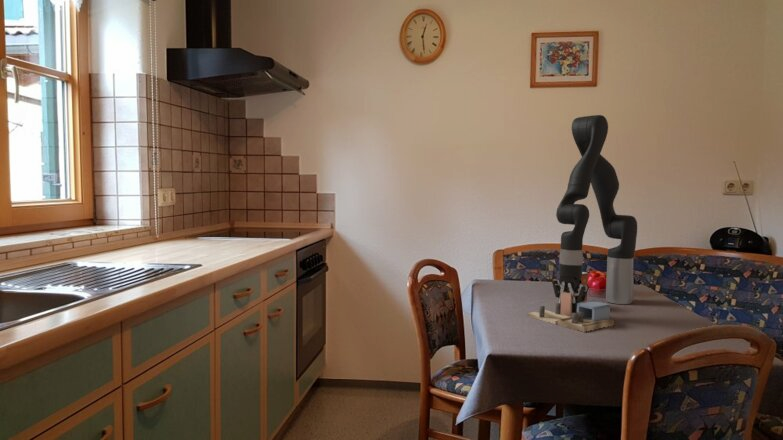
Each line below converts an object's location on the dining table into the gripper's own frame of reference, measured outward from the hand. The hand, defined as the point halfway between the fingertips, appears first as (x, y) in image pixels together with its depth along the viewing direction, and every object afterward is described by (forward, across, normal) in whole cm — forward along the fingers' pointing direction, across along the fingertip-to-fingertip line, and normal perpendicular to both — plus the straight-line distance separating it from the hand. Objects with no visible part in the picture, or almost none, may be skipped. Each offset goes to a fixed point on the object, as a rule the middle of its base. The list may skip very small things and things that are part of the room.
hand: (569, 311), depth 190 cm
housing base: (+1, -11, +6) cm, 12 cm away
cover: (0, -11, +2) cm, 11 cm away
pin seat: (+1, +1, +8) cm, 9 cm away
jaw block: (+1, 0, 0) cm, 1 cm away
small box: (+2, +7, -11) cm, 13 cm away
